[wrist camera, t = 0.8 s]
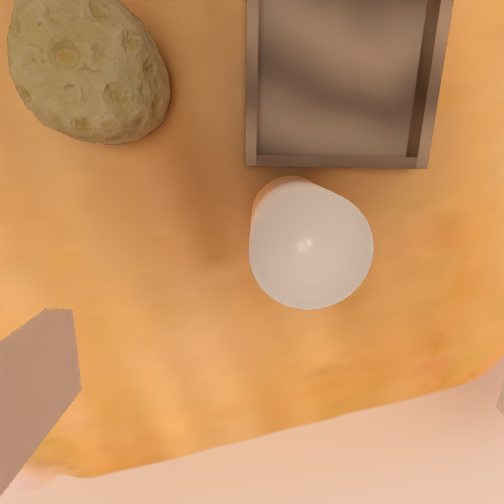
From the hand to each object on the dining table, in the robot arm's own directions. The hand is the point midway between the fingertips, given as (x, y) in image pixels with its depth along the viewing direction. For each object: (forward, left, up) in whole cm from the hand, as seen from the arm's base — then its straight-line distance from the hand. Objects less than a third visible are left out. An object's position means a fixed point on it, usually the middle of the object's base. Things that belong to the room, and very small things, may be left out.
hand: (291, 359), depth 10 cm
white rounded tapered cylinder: (-1, +2, -20) cm, 20 cm away
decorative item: (-11, -12, -20) cm, 26 cm away
